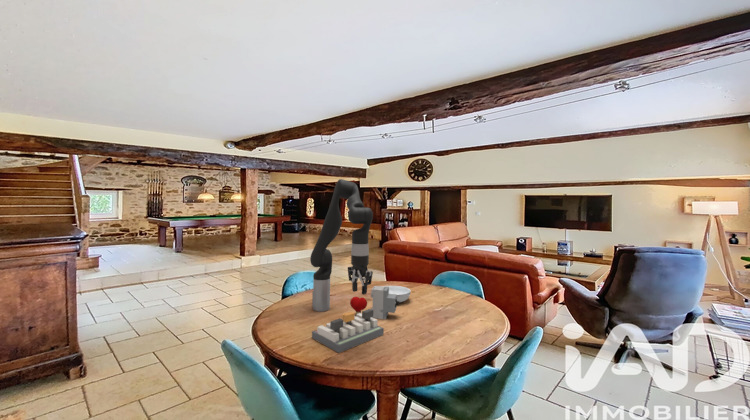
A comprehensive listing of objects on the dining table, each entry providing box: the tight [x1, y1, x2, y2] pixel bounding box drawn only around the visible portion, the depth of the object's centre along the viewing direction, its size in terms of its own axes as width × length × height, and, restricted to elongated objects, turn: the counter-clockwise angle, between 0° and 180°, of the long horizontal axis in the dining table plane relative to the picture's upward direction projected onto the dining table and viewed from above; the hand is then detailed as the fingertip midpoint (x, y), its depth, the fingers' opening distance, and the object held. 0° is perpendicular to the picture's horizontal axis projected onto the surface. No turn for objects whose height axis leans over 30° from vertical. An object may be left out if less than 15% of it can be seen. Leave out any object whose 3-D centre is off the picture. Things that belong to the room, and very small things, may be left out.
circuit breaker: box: [370, 285, 400, 320], centre depth 171 cm, size 8×14×15 cm, turn 78°
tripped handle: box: [342, 311, 356, 326], centre depth 146 cm, size 2×5×7 cm, turn 135°
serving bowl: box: [384, 285, 412, 303], centre depth 198 cm, size 21×21×7 cm
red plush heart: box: [349, 296, 368, 315], centre depth 171 cm, size 9×7×10 cm
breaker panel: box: [311, 308, 385, 354], centre depth 146 cm, size 19×26×10 cm
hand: (359, 292), depth 140 cm, fingers open, 5 cm apart
